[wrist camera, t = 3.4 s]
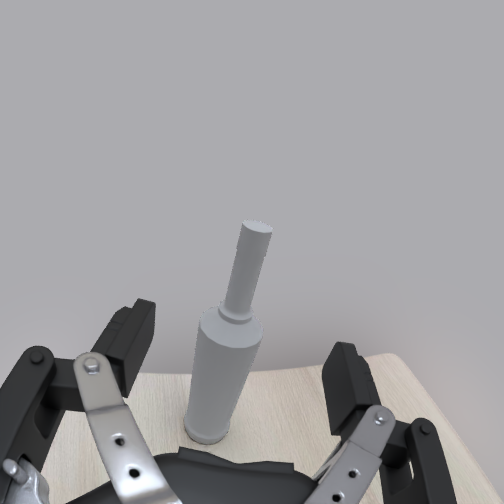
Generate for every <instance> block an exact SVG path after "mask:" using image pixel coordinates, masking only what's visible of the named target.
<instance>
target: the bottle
mask: <svg viewBox="0 0 504 504" xmlns="http://www.w3.org/2000/svg"><path fill="white" fill-rule="evenodd" d="M272 231H273V229H272V228H271V227H270V226H269V225H268V224H265V223H263V222H260V221H255V220H246V221H243V224H242V228H241V232H240V236H239V240H238V245H237V252H236V256H235V261H234V265H233V269H232V273H231V277H230V282H229V286H228V291H227V294H226V298H225V300H223V301H222V302H221V303H220V305H219V306H216V307H212V308H210V309H208V310H207V311H205V312H203V314H202V316H201V318H200V321H199V327H198V334H197V341H196V349H195V356H194V364H193V371H192V379H191V387H190V395H189V404H188V410H187V411H186V414H185V417H184V424H185V430H186V431H187V433H188V434H189V436H190V437H191V438H192V439H194V440H195V441H196V442H199V443H203V444H213V443H216V442H218V441H220V440H221V439H222V438H223V437H224V436H225V435H226V434H227V432H228V430H229V425H230V418H231V416H232V413H233V411H234V408H235V406H236V404H237V401H238V399H239V396H240V394H241V391H242V389H243V386H244V384H245V381H246V379H247V376H248V374H249V371H250V368H251V366H252V363H253V361H254V358H255V356H256V353H257V350H258V347H259V345H260V343H261V340H262V337H263V331H264V330H263V327H262V325H261V323H260V321H259V320H258V319H257V318H256V317H255V316H254V315H253V310H252V307H251V306H250V305H251V302H252V299H253V295H254V291H255V288H256V284H257V281H258V277H259V274H260V270H261V266H262V263H263V260H264V257H265V255H266V252H267V248H268V245H269V241H270V238H271V234H272Z"/></svg>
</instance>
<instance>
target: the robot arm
mask: <svg viewBox="0 0 504 504" xmlns="http://www.w3.org/2000/svg"><path fill="white" fill-rule="evenodd" d="M155 308H156V304H155V303H154V302H151V301H147V300H143V299H137V301H136V302H135V304H134V306H133V308H128V307H123V308H121V309H120V310H118V311H117V312H115V314H114V315H113V317H112V319H111V320H110V322H109V323H108V325H107V326H106V328H105V329H104V331H103V332H102V334H101V335H100V337H99V339H98V340H97V342H96V343H95V345H94V347H93V348H92V350H91V351H90V352H86V353H83V354H81V355H79V356H78V357H77V358H76V359H74V360H70V359H60V358H54V356H53V354H52V352H51V351H50V350H49V349H48V348H46V347H43V346H33V347H30V348H28V349H27V350H26V351H24V353H23V354H22V356H21V357H20V359H19V360H18V361H17V363H16V365H15V366H14V368H13V369H12V371H11V372H10V374H9V375H8V377H7V378H6V380H5V382H4V383H3V385H2V387H1V388H0V504H50V503H49V485H48V483H47V481H46V479H45V478H44V477H43V476H42V475H41V474H40V473H41V470H42V468H43V465H44V462H45V460H46V457H47V454H48V452H49V449H50V447H51V444H52V442H53V439H54V437H55V434H56V432H57V429H58V427H59V425H60V422H61V420H62V418H63V415H64V413H65V411H66V410H69V411H78V412H85V413H86V416H87V420H88V423H89V426H90V429H91V432H92V435H93V437H94V440H95V443H96V446H97V448H98V451H99V454H100V456H101V459H102V461H103V464H104V466H105V468H106V471H107V473H108V475H109V478H110V481H108V482H107V483H105V484H103V485H101V486H99V487H97V488H96V489H94V490H92V491H90V492H88V493H86V494H84V495H82V496H80V497H78V498H76V499H74V500H72V501H70V502H68V503H66V504H359V502H360V500H361V499H362V497H363V495H364V494H365V492H366V490H367V488H368V487H369V485H370V483H371V481H372V480H373V478H374V476H375V474H376V472H377V470H378V469H379V472H380V479H381V486H382V494H383V502H384V504H457V501H456V497H455V493H454V489H453V485H452V481H451V477H450V473H449V470H448V466H447V463H446V459H445V456H444V452H443V449H442V446H441V443H440V440H439V436H438V433H437V430H436V428H435V426H434V425H433V423H432V422H430V421H429V420H427V419H425V418H417V419H415V420H414V421H413V422H412V423H411V424H408V423H405V422H401V421H398V420H395V417H394V415H393V413H392V412H391V411H390V410H389V409H388V408H386V407H384V406H382V405H381V402H380V399H379V395H378V392H377V389H376V386H375V383H374V382H373V377H372V375H371V371H370V368H369V365H368V363H367V362H366V361H365V360H364V358H363V357H362V356H358V354H357V351H356V348H355V345H354V344H351V343H345V342H337V343H336V344H335V345H334V347H333V349H332V351H331V353H330V355H329V357H328V359H327V360H326V362H325V364H324V366H323V369H322V381H323V387H324V393H325V399H326V405H327V412H328V418H329V424H330V431H331V435H336V436H341V441H340V442H339V443H338V444H337V446H336V447H335V448H334V450H333V451H332V453H331V454H330V455H329V457H328V458H327V459H326V461H325V462H324V463H323V465H322V466H321V467H320V469H319V470H318V471H317V472H316V473H315V474H314V475H313V477H312V478H310V477H308V476H307V475H305V474H303V473H300V472H298V471H295V470H294V463H286V462H273V461H262V462H253V463H242V464H237V463H233V462H231V461H228V460H226V459H223V458H220V457H218V456H215V455H213V454H211V453H208V452H203V451H198V450H194V449H189V448H185V447H180V446H179V450H178V453H165V454H160V455H156V456H152V454H151V452H150V450H149V448H148V446H147V444H146V442H145V440H144V438H143V436H142V434H141V432H140V430H139V428H138V426H137V423H136V421H135V419H134V417H133V414H132V412H131V410H130V408H129V406H128V405H127V404H125V402H124V400H123V398H122V397H124V398H128V396H129V393H130V391H131V389H132V386H133V384H134V381H135V379H136V377H137V374H138V372H139V370H140V367H141V365H142V363H143V360H144V358H145V356H146V354H147V351H148V349H149V347H150V344H151V342H152V339H153V335H154V326H155V325H154V324H155ZM410 461H411V464H412V468H413V473H414V478H413V479H412V474H411V469H410V465H409V462H410Z"/></svg>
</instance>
